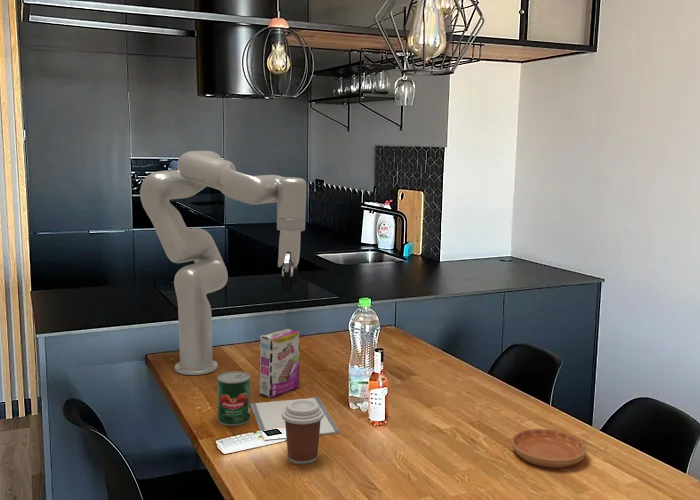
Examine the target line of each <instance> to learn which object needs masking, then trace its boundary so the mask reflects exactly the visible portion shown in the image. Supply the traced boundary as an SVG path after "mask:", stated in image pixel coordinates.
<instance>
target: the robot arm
mask: <svg viewBox="0 0 700 500" xmlns="http://www.w3.org/2000/svg"><path fill="white" fill-rule="evenodd" d="M176 169H177V170H176ZM176 169H175V170H174V169H173V170H159V171H158V170H157V171H154V172H152V173H150V174H147V175H146V177H144V178H143V180H142V182H141V185H140V190H139V196H140V197H139V198H140V201H141V204H142V208H143V209H144V211H145V213H146V215H147V216H148V218H149V219H150V221H151V223H152V225H153V228H154V230H155V233H156V235H157V237H158V239H159V241H160V244H161V246H162V248H163V250H164V252H165V254H166V257H167V258H168V259H169V261H171V262H172V263H175V264H182V263H188V262H192V261H193V262H194V263H192V264H188V265H185V266H183V267H181V268H180V269H179V270H177V272H176V273H175V275H174V280H173V286H174V289H175V290H174V291H175V294H176V300H177V312H178V313H177V314H178V336H179V339H178V341H179V343H178V344H179V361H178V362H177V363H176V364H174V371H175V372H176V373H178V374H180V375H185V376H199V375H200V376H201V375H206V374H209V373H210V374H211V373H212V372H215V371H216V370H217V369H218V368H219V363H218V361H216V360H214V359H213V325H212V323H213V322H212V321H213V320H212V319H213V317H212V308H211V304H210V301H209V299H208V297H207V294H211V293H214V292H216V291H219V290H221V289H223V288H224V287H225V286H226V285H227V282H228V278H229V275H228V270H227V267H226V265H225V262H224V260H223V257H222V256H221V252H220V251H219V249H218V246H217V245H216V243H215V240H214V238H213V237H212V235H211V234H210V233H209V232H208V231H207V230H206V229H203V228H200V227H192V228H188V227H187V225H186V223H185V221H184V219H183V217H182V214H181V213H180V211H179V210H178V209H177V208H176V207H175V206H174V205H173V204H172V203H171V202H170V200H179V199H187V198H190V197H193V196H196V194H198V193H199V192H201V191H203V190H204V189H205V188H207V187H209V188H212V189H215V190H218V191H220V192H221V193H222V194H223V195H224V196H226V197H227V198H229V199H232V200H235V201H237V202H238V201H239V202H241V203H245V204H248V205H252V206H253V205H255V206H256V205H264V204H273V203H277V204H276V215H277V217H276V230H277V231H280V232H279V239H278V256H277V258H278V259H277V267H278V268H281V267H282V270H281V281H280V282H281V283H280V288H281V289H280V290H281V291H282V292H293V291H294V290H295V289H294V284H298V280H299V279H298V275H299V274H298V273H299V272H298V271H299V268H298V265H299V262H300V256H301V255H300V254H301V232H305V230H306V209H307V208H306V207H307V205H306V204H307V203H306V202H307V181H306V180H305V179H304V178H301V177H286V176H282V175H277V174H264V175H263V174H262V175H250V174H245V173H243V172H240V171H237V169H236V166H235V164H234V163H233V162H231V161H229V160H226V159H224V158H222V157H221V155H220V154H218V153H216V152H215V151H213V150H191V151H187V152H184V153H182V155H180V156H179V158H178V160H177V163H176Z"/></svg>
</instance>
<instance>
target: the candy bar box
mask: <svg viewBox="0 0 700 500" xmlns="http://www.w3.org/2000/svg"><path fill="white" fill-rule="evenodd" d="M300 339H301V331H299V330H295V329H291V328H285V329H282V330H278V331H274V332H271V333H270V332H269V333H268V334H267V333H266V334H263V335H259V359H258V360H259V369H258V371H259V373H258V374H259V375H258V376H259V377H258V379H259V383H258V391H259V392H258V394H259V395H261V396H264V397H267V398H269V399H273V398H275V397H278V396H280V395H283V394H285V393H288V392H291V391H294V390H296V389H298V388H300V352H301V351H300V349H301V348H300V347H301V346H300V345H301V344H300V341H301V340H300Z"/></svg>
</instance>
